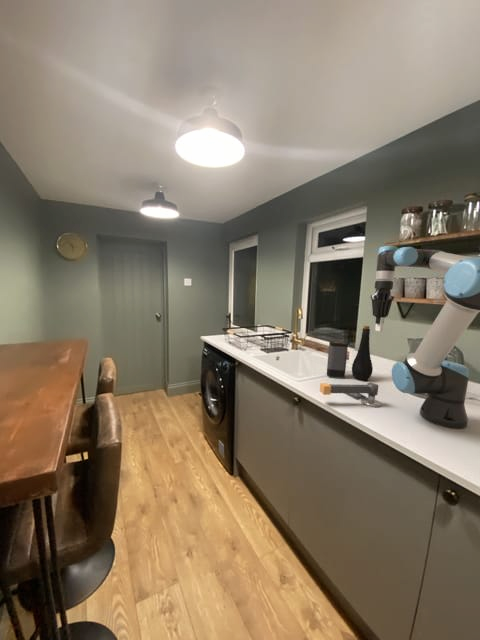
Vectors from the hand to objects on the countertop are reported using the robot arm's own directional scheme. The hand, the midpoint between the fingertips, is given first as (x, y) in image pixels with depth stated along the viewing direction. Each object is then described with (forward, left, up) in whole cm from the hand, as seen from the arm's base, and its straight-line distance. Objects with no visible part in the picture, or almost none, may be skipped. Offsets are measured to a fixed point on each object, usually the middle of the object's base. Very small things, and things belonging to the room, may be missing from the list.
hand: (378, 330), depth 130 cm
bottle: (+17, -11, -31) cm, 37 cm away
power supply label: (-1, +12, -30) cm, 33 cm away
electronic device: (+24, +1, -31) cm, 39 cm away
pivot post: (-10, +12, -30) cm, 34 cm away
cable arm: (-7, +22, -26) cm, 35 cm away
